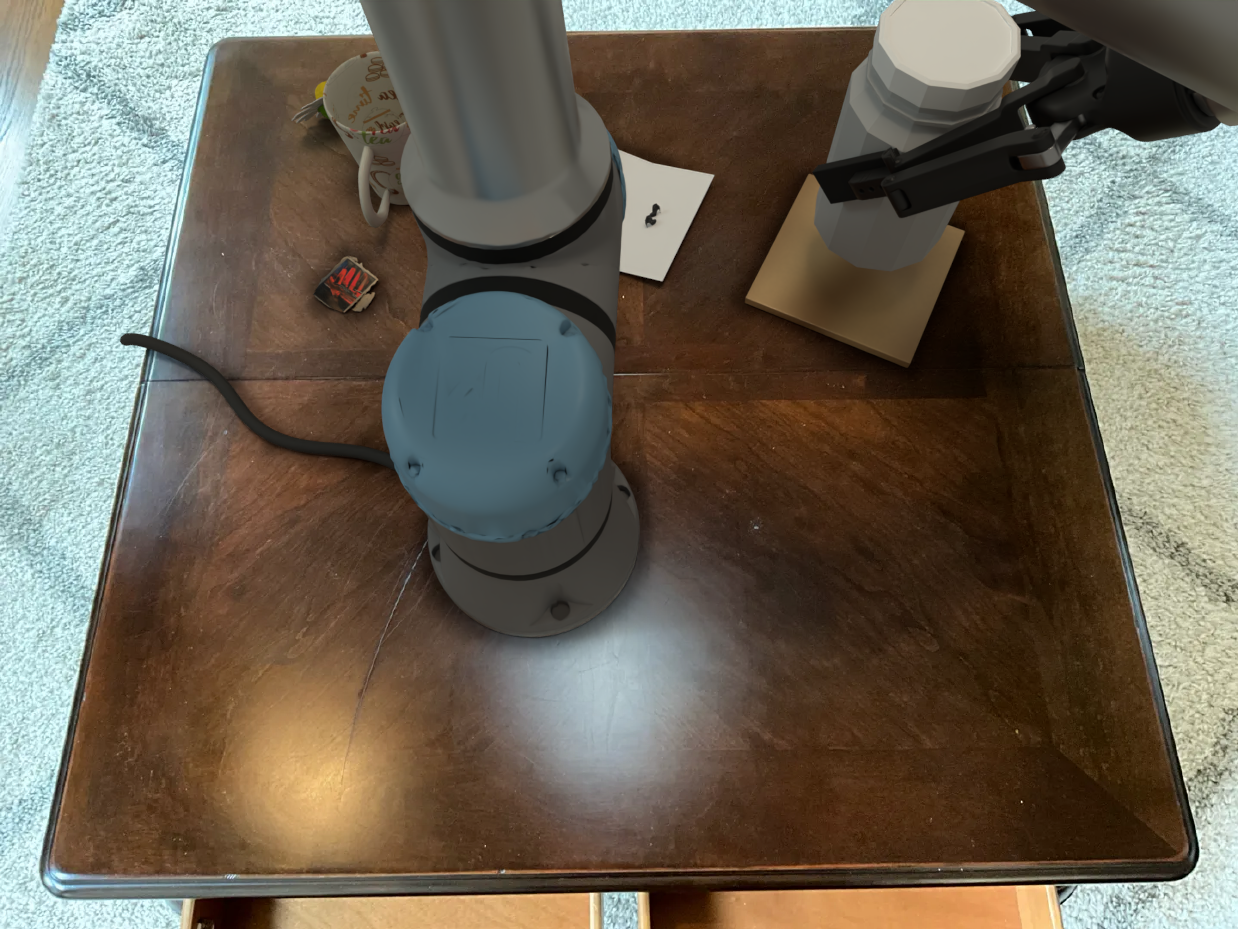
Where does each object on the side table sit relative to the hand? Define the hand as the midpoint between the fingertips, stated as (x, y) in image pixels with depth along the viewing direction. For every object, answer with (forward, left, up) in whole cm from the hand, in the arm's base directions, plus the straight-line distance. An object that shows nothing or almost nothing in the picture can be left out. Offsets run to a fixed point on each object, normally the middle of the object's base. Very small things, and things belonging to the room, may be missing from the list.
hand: (862, 136), depth 62 cm
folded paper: (-17, -4, -14) cm, 22 cm away
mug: (-35, -11, -14) cm, 39 cm away
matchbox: (-34, -21, -13) cm, 42 cm away
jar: (+3, -1, -8) cm, 9 cm away
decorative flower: (-40, -6, -11) cm, 41 cm away
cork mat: (+3, -1, -13) cm, 14 cm away
